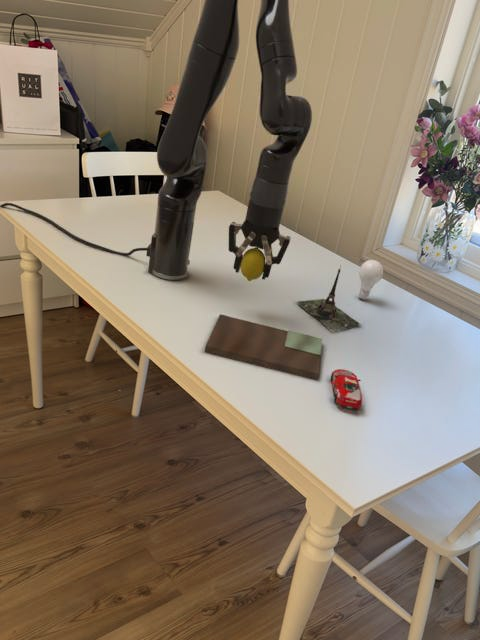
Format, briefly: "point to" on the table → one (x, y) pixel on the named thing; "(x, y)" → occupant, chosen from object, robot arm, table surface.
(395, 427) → the table surface
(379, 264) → the lightbulb
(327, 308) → the eiffel tower souvenir
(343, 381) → the race car
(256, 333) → the board
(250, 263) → the lemon
